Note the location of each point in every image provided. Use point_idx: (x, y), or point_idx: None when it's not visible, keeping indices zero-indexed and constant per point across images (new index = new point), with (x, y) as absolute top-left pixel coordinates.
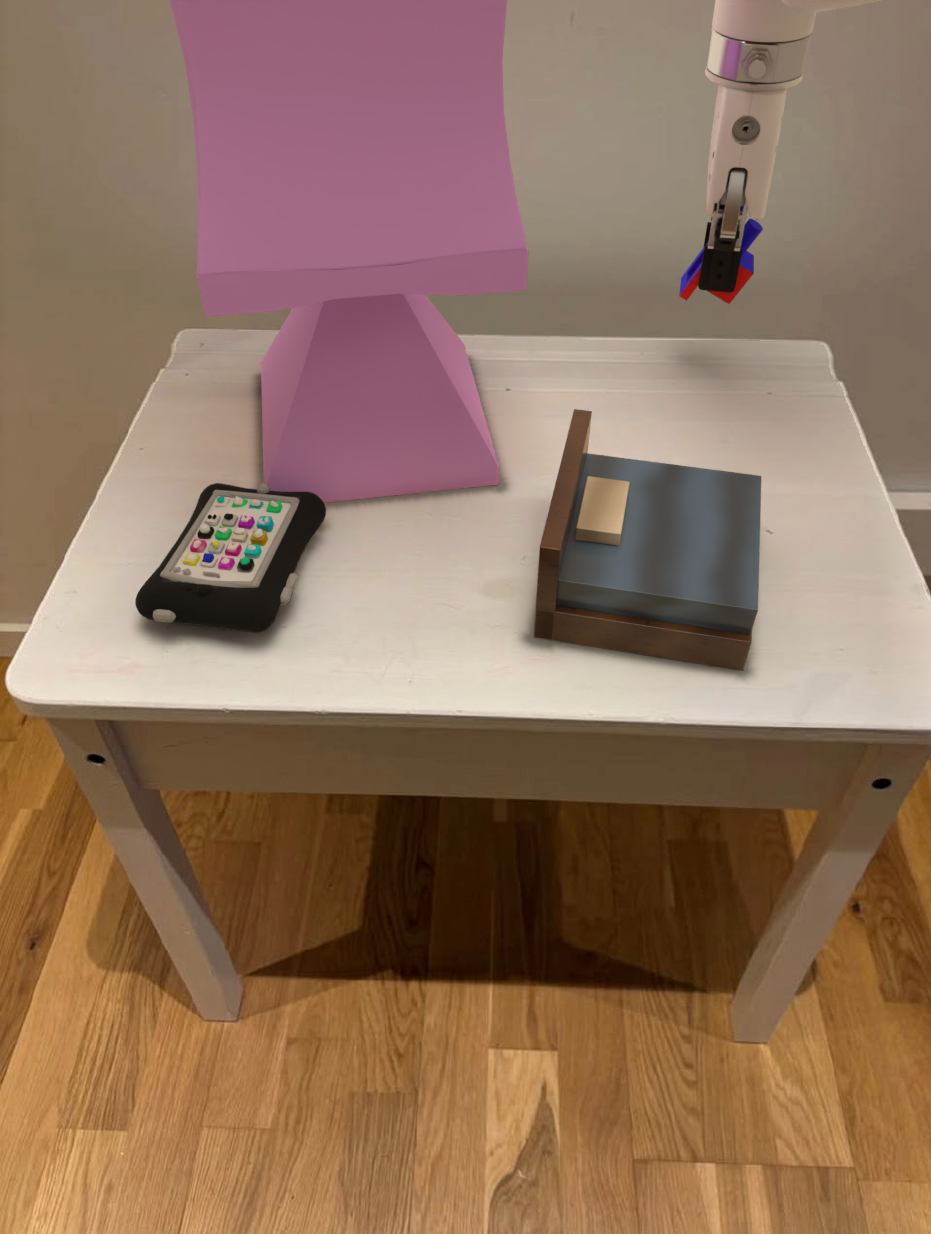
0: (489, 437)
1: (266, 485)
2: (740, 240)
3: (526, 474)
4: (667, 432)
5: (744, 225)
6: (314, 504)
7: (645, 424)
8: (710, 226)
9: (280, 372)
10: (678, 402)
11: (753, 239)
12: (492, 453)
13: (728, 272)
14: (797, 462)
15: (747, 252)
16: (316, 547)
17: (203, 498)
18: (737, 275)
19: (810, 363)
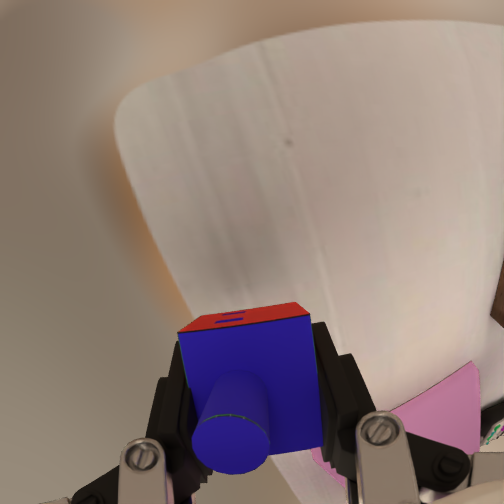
0: (451, 394)
1: (481, 439)
2: (404, 445)
3: (463, 351)
4: (410, 264)
5: (416, 487)
6: (494, 419)
7: (398, 291)
8: (205, 475)
9: None
10: (348, 267)
11: (254, 402)
12: (474, 383)
13: (361, 376)
14: (432, 99)
15: (189, 355)
16: (495, 400)
17: None
18: (333, 348)
19: (170, 92)
